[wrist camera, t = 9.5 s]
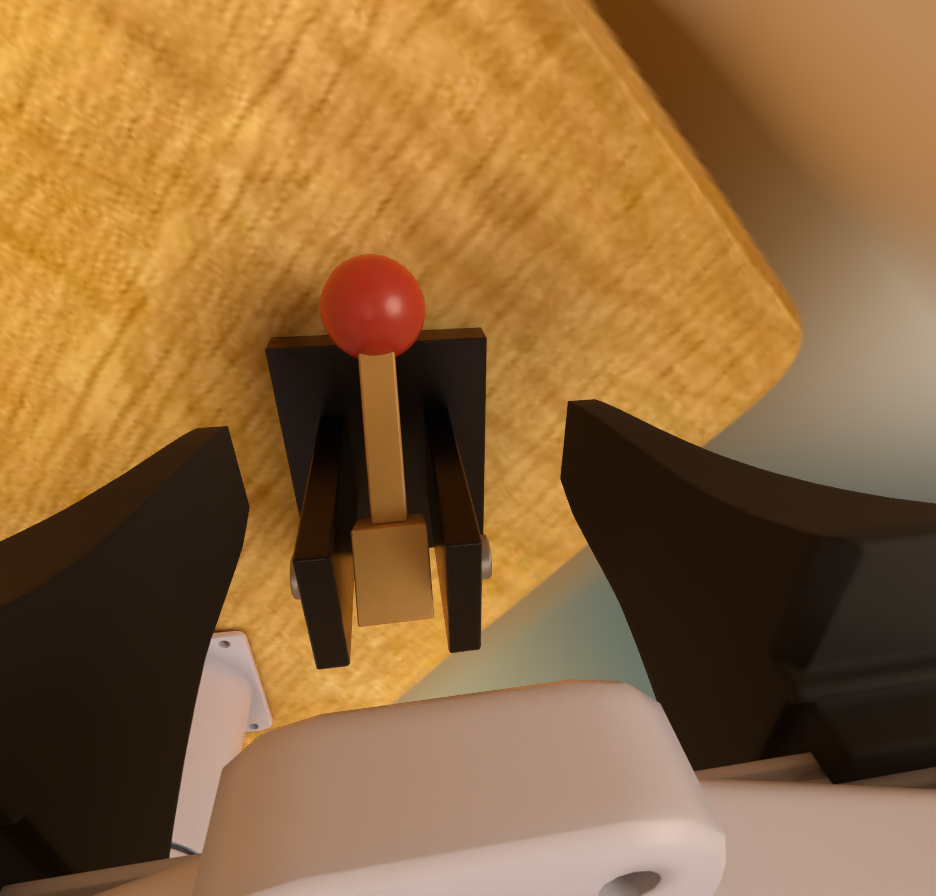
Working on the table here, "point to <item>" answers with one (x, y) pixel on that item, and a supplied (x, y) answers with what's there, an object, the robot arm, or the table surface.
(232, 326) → the table surface
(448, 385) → the switch bracket
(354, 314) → the switch lever
